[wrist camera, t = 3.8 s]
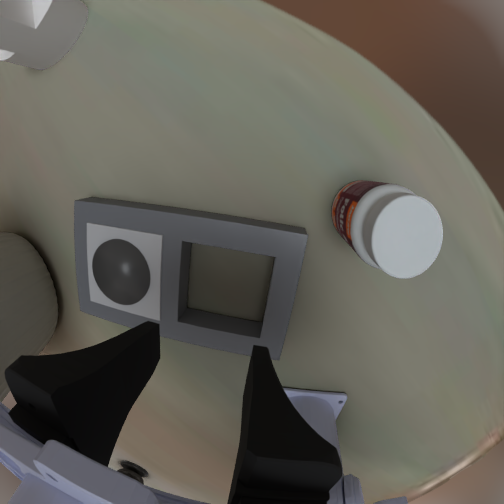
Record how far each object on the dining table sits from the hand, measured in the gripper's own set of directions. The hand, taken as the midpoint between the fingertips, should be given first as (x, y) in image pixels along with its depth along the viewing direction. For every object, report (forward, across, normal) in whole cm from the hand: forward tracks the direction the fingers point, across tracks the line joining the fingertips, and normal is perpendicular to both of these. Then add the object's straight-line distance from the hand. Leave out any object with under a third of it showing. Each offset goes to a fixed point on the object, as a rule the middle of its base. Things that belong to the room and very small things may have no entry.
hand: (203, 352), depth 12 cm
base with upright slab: (+10, +24, -22) cm, 34 cm away
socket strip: (+10, +4, 0) cm, 11 cm away
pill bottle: (+10, -8, -7) cm, 15 cm away
